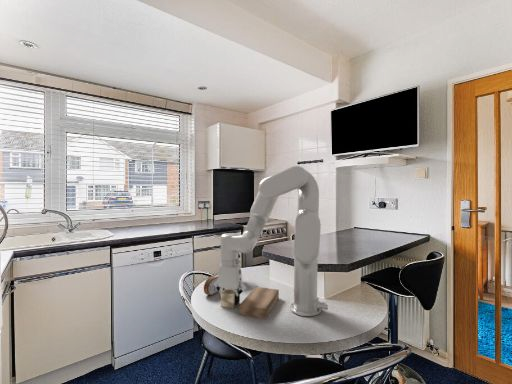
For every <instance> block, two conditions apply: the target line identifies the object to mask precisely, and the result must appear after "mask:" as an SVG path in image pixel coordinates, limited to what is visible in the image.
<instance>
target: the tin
mask: <svg viewBox="0 0 512 384" xmlns="http://www.w3.org/2000/svg"><path fill="white" fill-rule="evenodd" d="M217 280H218V273H216V274H213V275H212V276H209V277H208V278H207V279H206V280H205V282H204V285H203V292H204V294H205V295H208V296H213V295H216V294H217V293H219V291H218V290H217V289H216V287H215V286H214V285H213V284H214V283H215V282H216V281H217Z"/></svg>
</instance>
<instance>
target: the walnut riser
mask: <svg viewBox="0 0 512 384" xmlns="http://www.w3.org/2000/svg"><path fill="white" fill-rule="evenodd" d="M279 291H280V289H275V288H268V287H259V286H255V288H254V289H253V290H252V291H250V293H249V294H248V295H247V296H246V297H245V298H244V299H243V300H242V302H240V303H239V306H238V307H239V308H238V309H239V315H242V316H245V317H247V316H248V317H253V318H258V319H263V320H266V319H267V317H268V316H269V314H270V312H271V311H272V310H273V308H274V306H275V305H276V303H277V302H278V300H279V295H280V293H279Z"/></svg>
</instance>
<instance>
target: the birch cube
mask: <svg viewBox="0 0 512 384" xmlns="http://www.w3.org/2000/svg"><path fill="white" fill-rule="evenodd" d="M235 296H236V294H235V291H234V289H226V288H225V289H224V290H223V291H222V292H221V300H220V307H221V308H222V307H223V308H227V309H228V308H229V309H233V308H234V309H235V308H236V307H237V305H235Z"/></svg>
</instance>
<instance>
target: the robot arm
mask: <svg viewBox="0 0 512 384" xmlns="http://www.w3.org/2000/svg"><path fill="white" fill-rule="evenodd" d="M294 190H297V210H296V211H297V212H296V217H295V225H294V241H293V243H294V244H293V256H294V259H293V260H294V261H293V265H294V266H293V267H294V268H293V270H294V271H293V291H294V292H293V299H294V301H293V302H291V304H290V307H289V308H290V311H291V312H292V313H294V314H295V315H298V316H302V317H313V316H317V315H319V314H321V312H322V310H324V311H326V310H327V311H328V310H329V304H327V303H326V302H323V301H320V300H319V297H318V257H319V254H320V242H321V240H320V239H321V226H322V225H321V220H320V217H319V207H320V190H319V184H318V182H317V180H316V179H315V177H314V176H313V175H312V173H311V172H310V171H308V170H306V169H305V168H304V167H302V166H300V165H295V166H291V167H289V168H286V169H284V170H282V171H280V172H276V174H275V173H274V174H272V175H270V176H268V177H265V178H263V179H262V180H261V181H260V182H259V185H258V192H257V194H256V196H255V198H254V201H253V203H252V205H251V208H250V211H249V219H248V222H247V224H246V227H245V229H244V231H243V232H242V234H241V235H237V234H236V233H232V232H227V233H223V234H221V236H220V264H219V265H218V266H219V267H218V270H217V271H218V272H217V274H218V280H217V281H216V282H215V283H214V284H213V285H214V286H215V287H216V289H217V290H218V291H219V292H218V294H219V298H220V299H219V300H220V301H221V292H222V291H223V290H224V289H234V291H235V294H236V296H235V305H236V306H238V304H240V303H241V302H240V301H241V298H240V297H241V294H242V293H243V292H244V291H245V290H247V285H245V283H244V282H243V274H242V273H243V272H242V269H241V264H242V260H241V259H240V258H238V253H239V254H249V253H251V252H252V251H253V250H254V248H255V247H256V245H257V244H258V241H259V239H260V237H261V235H262V232H263V231H264V228H265V226H266V223H267V222H268V220H269V219H270V216H271V214H272V211H273V209H274V207H275V204H276V202H277V201H278V198H279V197H280V196H283V195H285V194H288V193H291V192H292V191H294ZM240 287H241V288H240Z"/></svg>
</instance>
